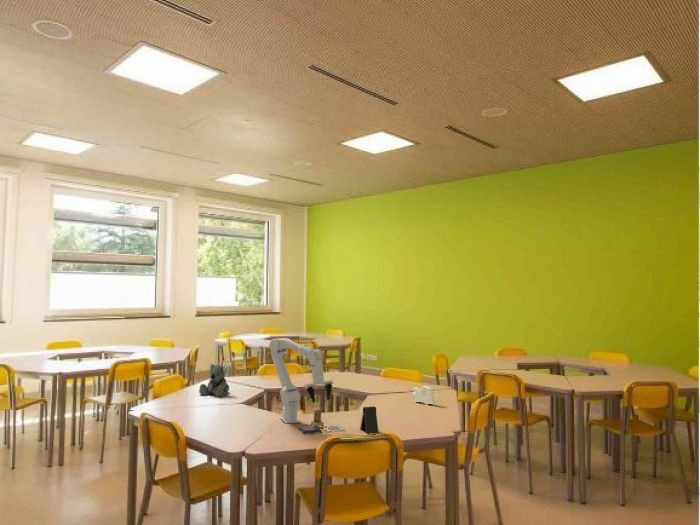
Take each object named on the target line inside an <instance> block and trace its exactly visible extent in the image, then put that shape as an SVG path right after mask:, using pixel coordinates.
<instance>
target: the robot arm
mask: <svg viewBox="0 0 700 525" xmlns="http://www.w3.org/2000/svg"><path fill="white" fill-rule="evenodd" d="M268 348H269V349H270V353H271V359H272V363H273V366H274V368H275V371H276V373H277V376H278V379H279V383H280V385H281V389H280V391H279V394H280V401H281V403H282V407H281V409H282V410H281V417H280V418H281V419H283V421H284V422H285V423H284V422H283V421H282V422H283V423H284V424H294V423H295V424H296V423H300V420H298V404H299V402H300V401H301V398H302V396H301V393H300V391H299V390H298V388H297V386H296V385H294V384H293V383H292V380H291V377H290V375H289V374H290V373H289V371H288V368H287V366H286V362H285V360H284V358H283V357H284V355H285V354H286V352H287V351H288V349H290V350H293V351H296V352H297V353H298V355H300V356H302V357H304V358H306V359H307V360H308V362H309V364H310V368H311V377H312V383H308V384H306V383H305V384H304V389H305V390H306V391H307V392H308V395H309V397H310V398H311V402H312V403H313V404H314V403H316V399H315V388H318V387H324V390H325V394H326V396H325V397H326V400H327V401H330V397H331V391H332V389H333V385H334V380H333V379H332V380H325V376H324V368H323V359H324V353H323V350H321V349H320V348H317V349H315V347H311V346H308V344H306V343H305V344H301V345H300V344H299V343H297V342H295V341H293V340H292V339H290V338H288V337H282V338H281V337H280V338H272V339H271V340H270V342H269V347H268ZM281 419H280V420H281Z"/></svg>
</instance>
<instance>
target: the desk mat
mask: <svg viewBox="0 0 700 525" xmlns="http://www.w3.org/2000/svg"><path fill="white" fill-rule="evenodd" d="M322 427H323V428H324V427H325V429H326V428H327V427H329V428H328V429H329V430H330V432H329V433H333V432H332V431H335V432H344V431H343V430H346V429H345V428H343V427H342V426H341V425H339V424H334V425H325V426H322ZM330 428H331V429H330ZM327 431H328V430H327V429H326V431H325V432H326V433H328V432H327Z"/></svg>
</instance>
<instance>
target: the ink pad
mask: <svg viewBox="0 0 700 525" xmlns="http://www.w3.org/2000/svg"><path fill="white" fill-rule="evenodd" d="M298 430H299V431H300V432H301V433H302V434H303V435H305V434H306V433H309V434H316V433H315V432H320V433H322V429H320V427H317V426H315V425H314V426H312V425H305V426H298ZM306 435H307V434H306Z"/></svg>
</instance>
